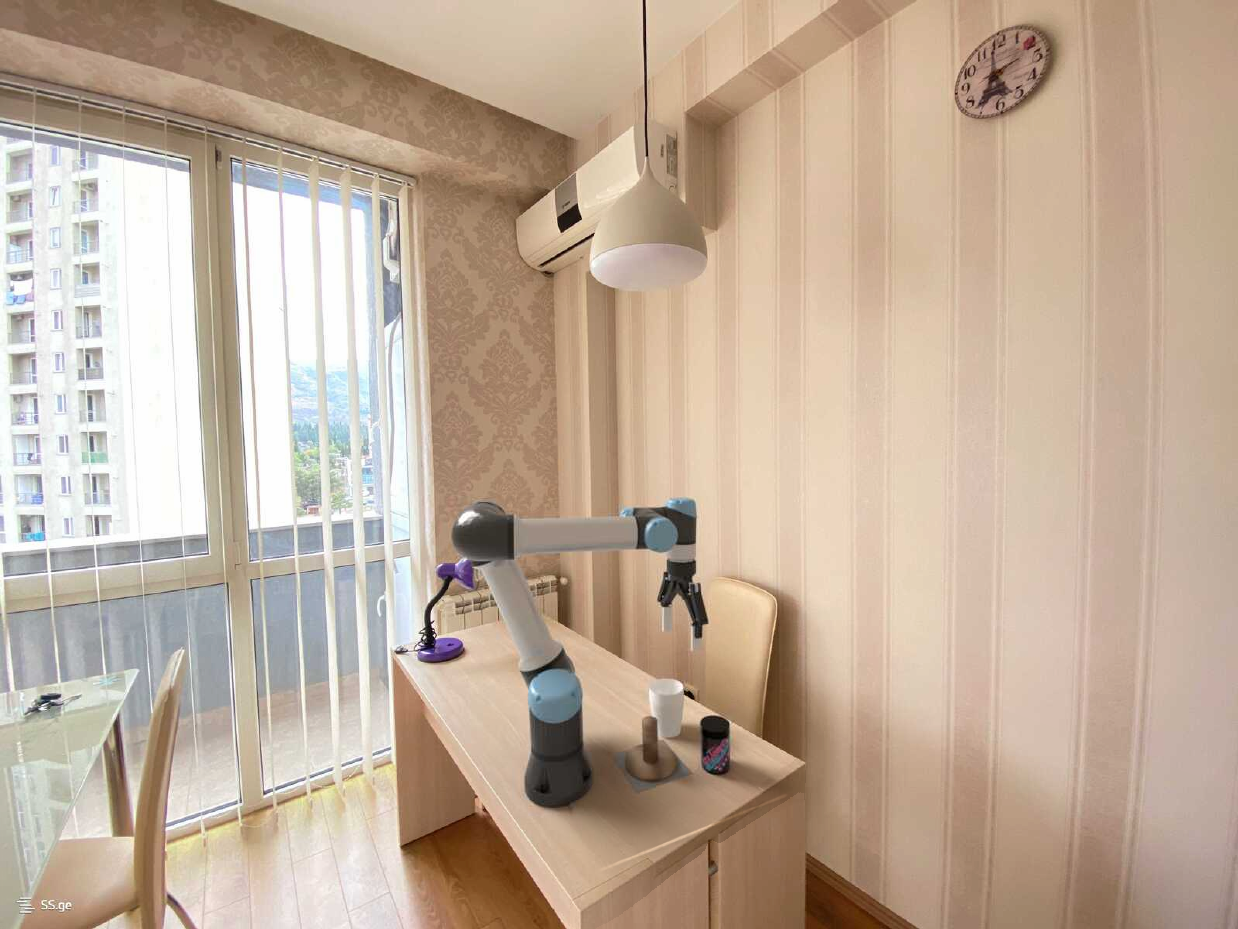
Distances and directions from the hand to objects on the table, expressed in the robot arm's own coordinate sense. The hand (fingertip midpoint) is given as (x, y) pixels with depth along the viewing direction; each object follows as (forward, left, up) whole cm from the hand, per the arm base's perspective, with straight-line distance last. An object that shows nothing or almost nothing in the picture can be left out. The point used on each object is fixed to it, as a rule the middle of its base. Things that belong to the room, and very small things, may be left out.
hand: (681, 640), depth 131 cm
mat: (-15, -10, -24) cm, 29 cm away
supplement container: (-1, -17, -24) cm, 29 cm away
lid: (-14, -10, -23) cm, 29 cm away
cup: (-4, 0, -24) cm, 24 cm away
